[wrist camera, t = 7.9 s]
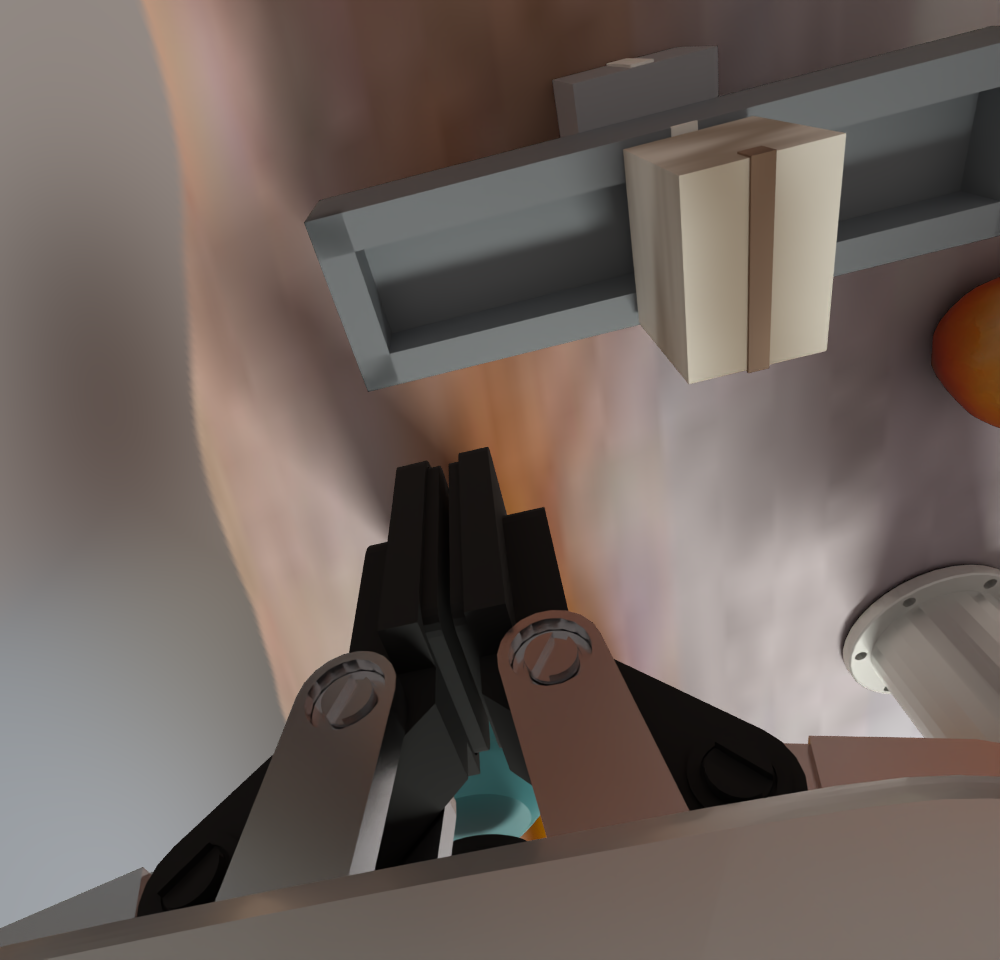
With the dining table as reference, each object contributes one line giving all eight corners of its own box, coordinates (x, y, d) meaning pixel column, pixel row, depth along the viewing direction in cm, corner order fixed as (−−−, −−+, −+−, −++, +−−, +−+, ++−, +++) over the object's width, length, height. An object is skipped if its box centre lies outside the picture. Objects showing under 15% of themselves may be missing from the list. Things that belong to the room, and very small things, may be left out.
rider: (726, 109, 20) (848, 131, 15) (727, 280, 24) (828, 353, 18) (606, 140, 21) (680, 174, 15) (624, 305, 24) (690, 387, 18)
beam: (921, -21, 24) (1100, -47, 18) (888, 224, 29) (1018, 271, 23) (317, 138, 25) (282, 167, 19) (389, 348, 30) (381, 427, 24)
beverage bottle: (408, 489, 35) (397, 883, 18) (523, 505, 36) (610, 884, 20) (390, 576, 38) (368, 974, 22) (496, 588, 40) (550, 969, 23)
